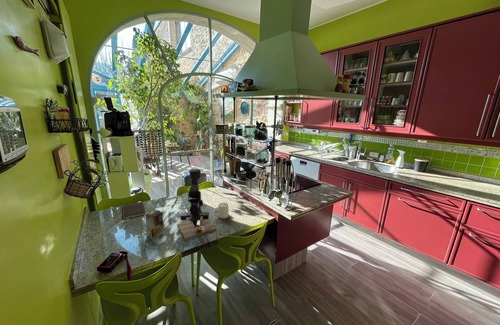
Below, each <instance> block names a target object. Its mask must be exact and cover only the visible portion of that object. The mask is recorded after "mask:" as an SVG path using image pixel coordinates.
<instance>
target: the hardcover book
mask: <svg viewBox="0 0 500 325" xmlns="http://www.w3.org/2000/svg"><path fill="white" fill-rule="evenodd" d="M121 207H122V209H121V210H122V220H126V219H125V218H127V219H131V218H135V217H139V216H143V215H144V216H145V215H146V210H145V206H144V202H143V201H141V202H136V203H135V202H134V203H129V204H124V205H122V206H121ZM130 217H131V218H130Z"/></svg>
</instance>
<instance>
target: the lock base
mask: <svg viewBox="0 0 500 325" xmlns="http://www.w3.org/2000/svg"><path fill="white" fill-rule="evenodd" d="M200 225H201V231H200V232H198V231H197V225H196V227H195V226H194V224H193V222H190V220H187V221H185V222H184V221H183V222H180V223H178V224H176V226H177V229H178V230H179V232H180V233H181V235H182V237H183V239H184V241H187V240H190V239H192V238H195V237H199V236H201V235H205V234H208V233H210V232H214V231H216V227H215V225H213V223H212V222H211V221H210V220H209V219H203V217H201V223H200Z"/></svg>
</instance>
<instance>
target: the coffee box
mask: <svg viewBox="0 0 500 325" xmlns="http://www.w3.org/2000/svg"><path fill="white" fill-rule="evenodd" d="M144 217H145V223H146V224H145V225H146V231H147V237H149V238H150V239H151V240H153V239H156V238H158V237H160V236H162V235H163V234H165V226H164V217H163V212H161V211H160V210H159V209H158V210H155V211H151V212H149V213H145V215H144Z"/></svg>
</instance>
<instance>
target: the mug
mask: <svg viewBox="0 0 500 325" xmlns="http://www.w3.org/2000/svg"><path fill="white" fill-rule="evenodd" d="M229 207H230V206H229V203H227V202H219V203H218V205H217V207H215V208H214V210H213V213H214V214H213V215H215V216H217V217H218V218H219V219H227V218H228V217H229ZM217 210H218V211H217ZM216 212H218V213H216Z"/></svg>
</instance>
